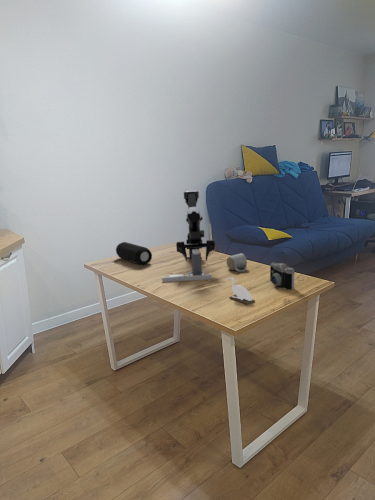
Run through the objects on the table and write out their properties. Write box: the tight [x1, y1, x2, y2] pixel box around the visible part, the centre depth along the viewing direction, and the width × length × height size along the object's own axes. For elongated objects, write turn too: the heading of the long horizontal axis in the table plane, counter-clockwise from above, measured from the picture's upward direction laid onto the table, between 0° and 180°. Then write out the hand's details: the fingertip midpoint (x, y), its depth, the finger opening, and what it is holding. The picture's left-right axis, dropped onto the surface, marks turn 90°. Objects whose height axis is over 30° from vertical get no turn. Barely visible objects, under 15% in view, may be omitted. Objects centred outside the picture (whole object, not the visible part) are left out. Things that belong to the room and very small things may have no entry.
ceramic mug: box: [226, 252, 248, 273], centre depth 181 cm, size 11×8×8 cm
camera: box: [269, 261, 295, 291], centre depth 156 cm, size 15×7×10 cm, turn 22°
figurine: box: [225, 276, 256, 306], centre depth 144 cm, size 14×4×9 cm, turn 40°
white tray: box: [161, 271, 212, 283], centre depth 174 cm, size 23×12×2 cm, turn 91°
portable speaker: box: [115, 241, 153, 266], centre depth 206 cm, size 26×10×10 cm, turn 41°
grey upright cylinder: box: [191, 248, 203, 276], centre depth 172 cm, size 5×5×13 cm
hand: (196, 261), depth 171 cm, fingers open, 9 cm apart
